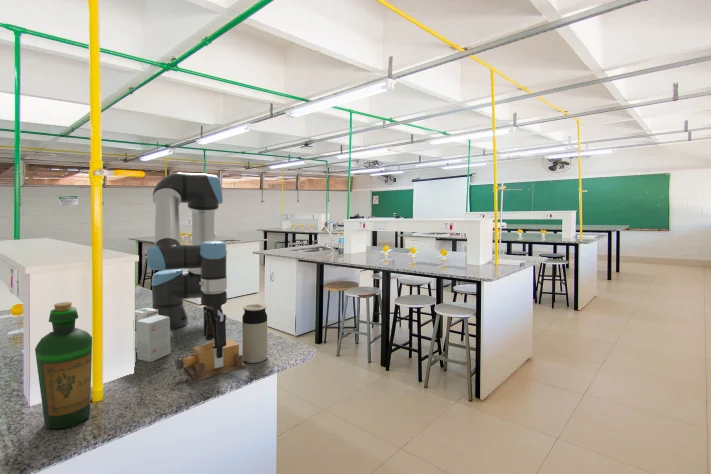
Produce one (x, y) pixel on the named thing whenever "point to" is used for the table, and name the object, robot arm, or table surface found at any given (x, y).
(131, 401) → the table surface
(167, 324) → the small box
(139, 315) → the syrup box
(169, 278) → the robot arm
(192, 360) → the amber bottle
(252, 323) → the travel mug
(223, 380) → the table surface
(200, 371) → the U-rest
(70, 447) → the table surface
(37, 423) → the table surface
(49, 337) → the bottle
